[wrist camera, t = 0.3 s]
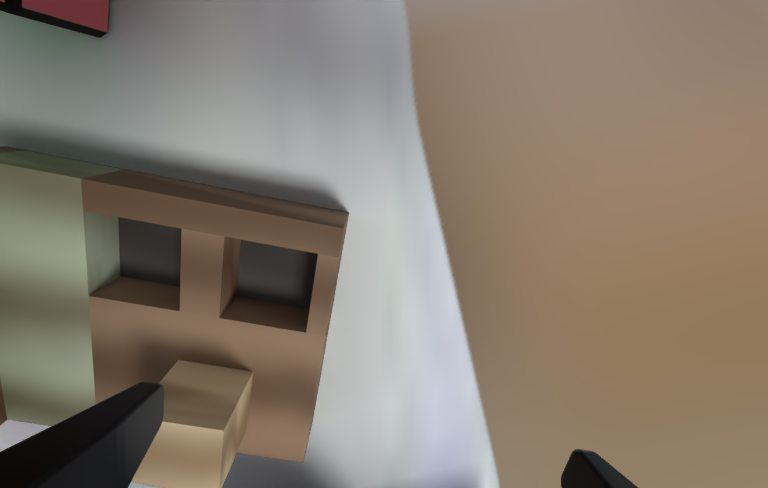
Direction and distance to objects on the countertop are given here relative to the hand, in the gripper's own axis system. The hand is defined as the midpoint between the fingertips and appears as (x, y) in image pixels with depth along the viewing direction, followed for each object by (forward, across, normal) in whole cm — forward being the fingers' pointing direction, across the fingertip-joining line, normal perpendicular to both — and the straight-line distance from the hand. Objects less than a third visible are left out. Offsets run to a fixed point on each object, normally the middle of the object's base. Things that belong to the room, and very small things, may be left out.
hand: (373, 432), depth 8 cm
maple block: (+11, +7, +10) cm, 16 cm away
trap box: (+14, +11, +6) cm, 19 cm away
